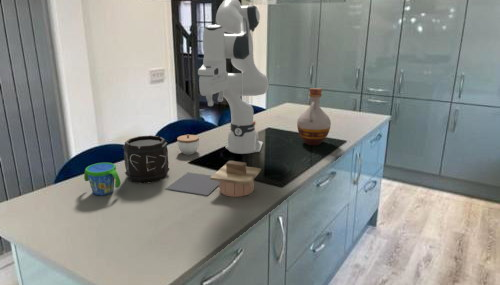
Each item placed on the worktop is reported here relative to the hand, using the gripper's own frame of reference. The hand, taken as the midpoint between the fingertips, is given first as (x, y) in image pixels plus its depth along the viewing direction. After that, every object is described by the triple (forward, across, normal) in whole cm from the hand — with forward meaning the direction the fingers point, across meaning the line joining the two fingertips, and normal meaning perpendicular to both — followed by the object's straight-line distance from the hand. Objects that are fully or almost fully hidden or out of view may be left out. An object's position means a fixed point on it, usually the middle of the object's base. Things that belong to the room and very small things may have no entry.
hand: (215, 103), depth 149 cm
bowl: (+31, +11, +13) cm, 35 cm away
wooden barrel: (+31, +11, -27) cm, 43 cm away
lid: (+25, +11, +13) cm, 30 cm away
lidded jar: (+31, -23, -26) cm, 47 cm away
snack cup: (+31, +30, -34) cm, 55 cm away
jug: (+31, -59, +30) cm, 73 cm away
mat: (+31, +11, -4) cm, 33 cm away
